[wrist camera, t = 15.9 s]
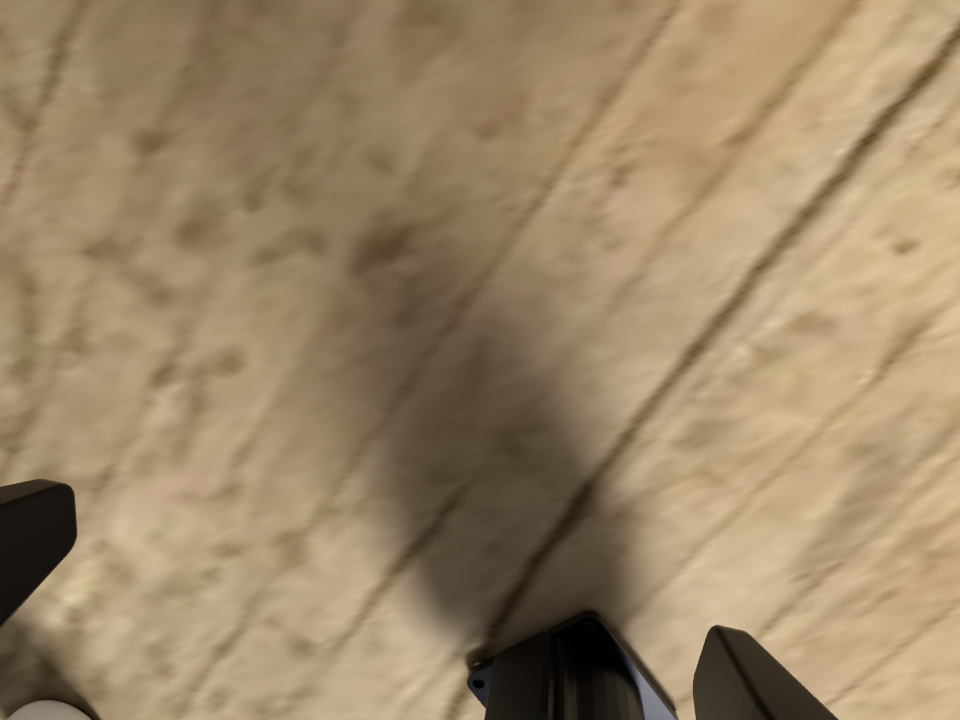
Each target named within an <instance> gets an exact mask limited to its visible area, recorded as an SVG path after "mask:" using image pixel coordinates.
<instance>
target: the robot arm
mask: <svg viewBox="0 0 960 720" xmlns="http://www.w3.org/2000/svg"><path fill="white" fill-rule="evenodd" d="M76 538H77V521H76V507H75V494H74V491H73V489H72V488H71V486H69V485H67V484H65V483H61V482H56V481H51V480H47V479H36V480H31V481H26V482H21V483H16V484H12V485H7V486H2V487H0V628H1V627H2V626H3V625H4V624H5V623H6V622H7V620H8V619H9V618H10V617H11V616H12V615H13V614H14V613H15V612H16V611H17V609H18V608H19V607H20V606H21V605H22V604H23V603H24V602H25V601H26V600H27V598H28V597H29V596H30V595H31V594H32V593H33V592H34V591H35V590H36V589H37V587H38V586H39V585H40V584H41V583H42V582H43V581H44V580H45V579H46V578H47V576H48V575H49V574H50V573H51V572H52V571H53V570H54V569H55V568H56V567H57V565H58V564H59V563H60V562H61V561H62V560H63V559H64V558H65V557H66V556H67V554H68V553H69V552H70V551H71V549H72V548H73V546H74V544H75V541H76ZM587 623H593V624H595V625H594V626H591V627H590V626H586V624H587ZM476 679H481V680H483V681H478V680H476ZM467 685H468V687H469V689H470V690H471V691H472V692H473V694H474V695H475V696H476V697H477V698H478V700H479V701H480V702H481V703H482V704H483V706H484V707H485V708H486V712H485V719H484V720H679V719H678V717H677V715H676V713H675V712H674V711H673V710H672V708H671V707H670V706H669V704H668V703H667V702H666V700H665V699H664V698H663V697H662V695H661V694H660V693H659V691H658V690H657V689H656V687H655V686H654V685H653V683H652V682H651V681H650V680H649V678H648V677H647V676H646V674H645V673H644V672H643V670H642V669H641V668H640V666H639V665H638V664H637V663H636V661H635V660H634V659H633V657H632V656H631V655H630V653H629V652H628V651H627V650H626V648H625V647H624V646H623V644H622V643H621V642H620V640H619V639H618V638H617V636H616V635H615V634H614V633H613V631H612V630H611V629H610V627H609V626H608V625H607V623H606V622H605V621H604V620H603V618H602V617H601V616H600V615H599V614H598V613H597V612H594V611H584V612H582V613H580V614H578V615H576V616H574V617H572V618H570V619H568V620H566V621H564V622H562V623H560V624H558V625H556V626H554V627H552V628H550V629H548V630H546V631H541V632H539V633H537V634H535V635H533V636H531V637H529V638H528V639H526V640H524V641H522V642H520V643H518V644H516V645H514V646H512V647H510V648H508V649H506V650H504V651H502V652H500V653H498V654H496V655H495V656H494V657H493V658H491V659H489V660H487V661H485V662H483V663H481V664H479V665H477V666H475V667H473V668H472V669H471V670H470V671H469V673H468V679H467ZM693 698H694V706H695V715H696V720H839V719H837V718H836V717H835V716H834V715H833V714H832V713H831V712H830V711H829V710H828V709H827V708H826V707H825V706H824V705H823V704H822V703H821V702H820V701H819V700H818V699H817V698H815V697H814V696H813V695H812V694H811V693H810V692H809V691H808V690H807V689H806V688H805V687H804V686H803V685H802V684H801V683H800V682H799V681H798V680H797V679H796V678H795V677H794V676H792V675H791V674H790V673H789V672H788V671H787V670H786V669H785V668H784V667H783V666H782V665H781V664H780V663H779V662H778V661H777V660H776V659H775V658H774V657H773V656H772V655H770V654H769V653H768V652H767V651H766V650H765V649H764V648H763V647H762V646H761V645H760V644H759V643H758V642H757V641H756V640H755V639H754V638H753V637H752V636H751V635H749V634H748V633H747V632H745V631H743V630H738V629H734V628H729V627H724V626H720V625H715V626H713V627H711V628H710V630H709V631H708V634H707V636H706V639H705V643H704V646H703V649H702V652H701V655H700V658H699V661H698V665H697V668H696V671H695V674H694V680H693Z"/></svg>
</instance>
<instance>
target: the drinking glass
mask: <svg viewBox="0 0 960 720" xmlns="http://www.w3.org/2000/svg"><path fill="white" fill-rule="evenodd" d="M6 720H91V719H90V718H89V717H88V716H87V715H86V714H85V713H83V712H82V711H80V710H79V709H77V708H75V707H73V706H71V705H69V704H66V703H63V702H59V701H54V700H41V701H35V702H32V703H29V704H27V705H25V706H23V707H21V708H20V709H18V710H17V711H15V712H14V713H13V714H12V715H11V716H10V717H9V718H7V719H6Z"/></svg>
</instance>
